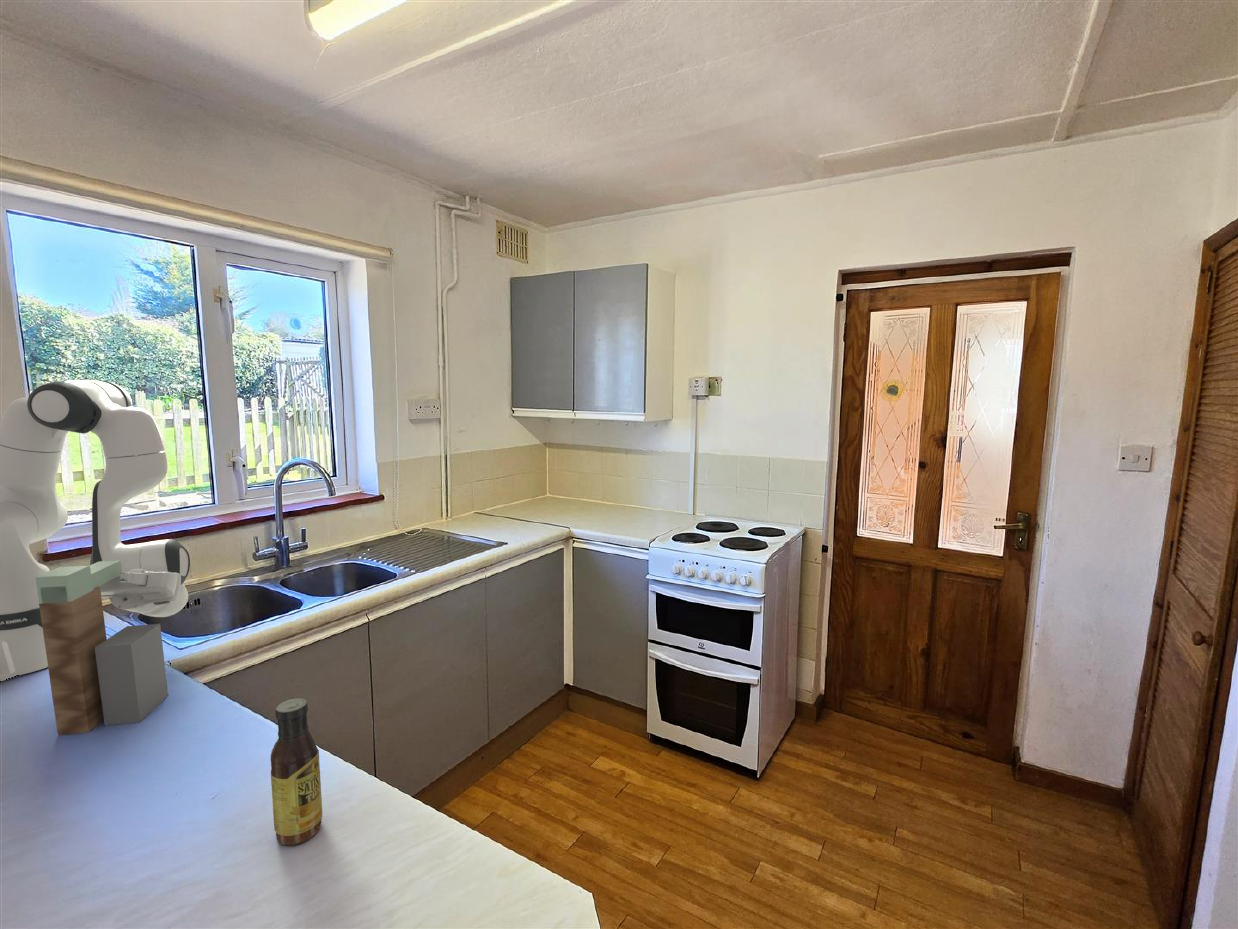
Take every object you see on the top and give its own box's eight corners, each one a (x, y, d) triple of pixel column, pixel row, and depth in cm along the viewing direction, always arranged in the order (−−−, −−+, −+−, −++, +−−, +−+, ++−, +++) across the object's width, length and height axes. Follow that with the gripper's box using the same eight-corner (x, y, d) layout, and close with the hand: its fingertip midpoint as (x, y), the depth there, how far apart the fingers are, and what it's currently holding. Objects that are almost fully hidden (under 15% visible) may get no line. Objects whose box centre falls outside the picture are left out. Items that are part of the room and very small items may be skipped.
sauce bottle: (308, 849, 83) (298, 719, 80) (265, 848, 83) (253, 719, 80) (332, 815, 89) (323, 694, 86) (292, 814, 89) (282, 694, 86)
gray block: (104, 725, 112) (94, 647, 110) (135, 698, 122) (127, 626, 120) (140, 721, 114) (130, 644, 111) (168, 695, 123) (160, 623, 121)
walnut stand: (57, 735, 109) (39, 603, 106) (87, 712, 117) (70, 588, 113) (88, 732, 110) (71, 601, 107) (115, 709, 118) (100, 586, 114)
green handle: (39, 603, 106) (35, 577, 105) (97, 575, 121) (94, 552, 120) (71, 601, 107) (67, 575, 106) (125, 574, 122) (122, 551, 121)
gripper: (85, 579, 129) (40, 565, 116) (189, 573, 133) (156, 559, 120) (78, 608, 126) (31, 597, 114) (184, 601, 131) (150, 590, 118)
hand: (96, 577), depth 117 cm, fingers open, 8 cm apart
